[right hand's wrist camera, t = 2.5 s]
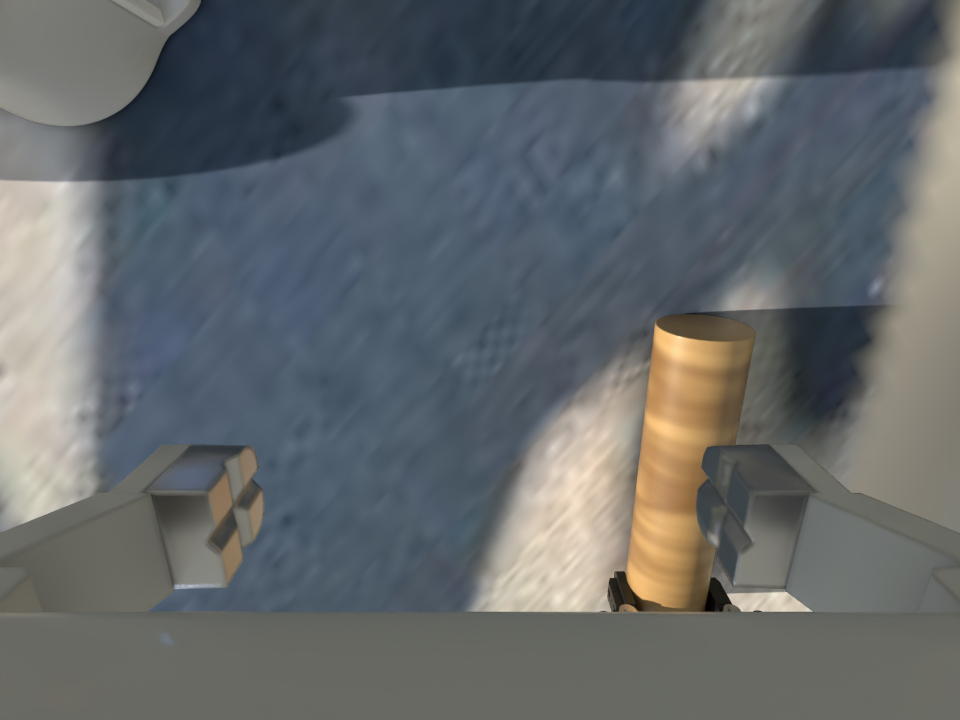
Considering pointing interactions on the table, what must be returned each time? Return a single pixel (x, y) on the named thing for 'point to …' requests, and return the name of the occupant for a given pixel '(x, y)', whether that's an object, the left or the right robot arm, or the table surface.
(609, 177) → the table surface
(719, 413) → the rod
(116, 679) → the right robot arm
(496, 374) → the table surface
